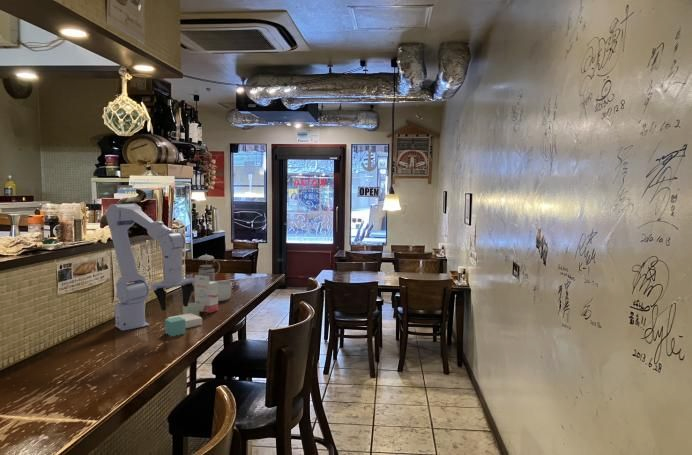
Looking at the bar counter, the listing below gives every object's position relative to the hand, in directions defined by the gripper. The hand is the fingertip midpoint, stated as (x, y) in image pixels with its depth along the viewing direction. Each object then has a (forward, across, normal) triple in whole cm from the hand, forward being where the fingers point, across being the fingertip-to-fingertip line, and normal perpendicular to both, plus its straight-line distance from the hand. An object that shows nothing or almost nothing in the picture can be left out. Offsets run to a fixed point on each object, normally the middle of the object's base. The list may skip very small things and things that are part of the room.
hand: (174, 307), depth 162 cm
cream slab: (+9, +7, +8) cm, 14 cm away
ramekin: (+9, +35, +37) cm, 52 cm away
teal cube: (+9, 0, 0) cm, 9 cm away
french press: (+9, +47, +69) cm, 84 cm away
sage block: (+9, +14, +18) cm, 25 cm away
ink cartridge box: (+9, +22, +21) cm, 32 cm away
